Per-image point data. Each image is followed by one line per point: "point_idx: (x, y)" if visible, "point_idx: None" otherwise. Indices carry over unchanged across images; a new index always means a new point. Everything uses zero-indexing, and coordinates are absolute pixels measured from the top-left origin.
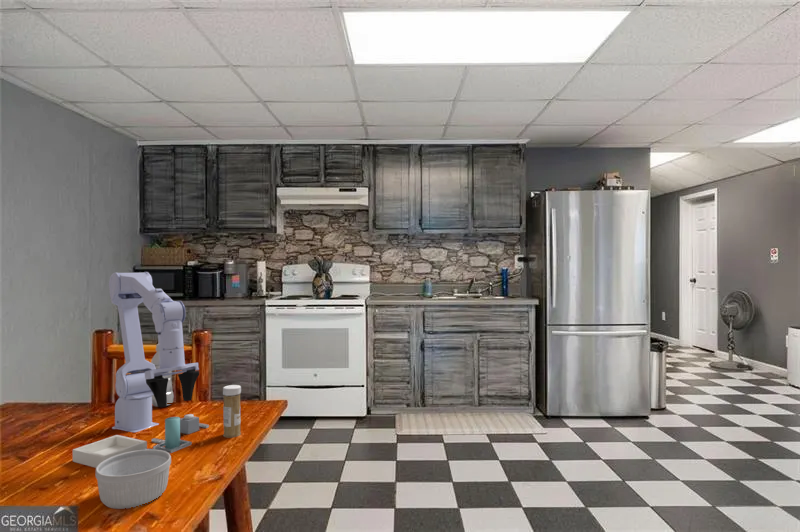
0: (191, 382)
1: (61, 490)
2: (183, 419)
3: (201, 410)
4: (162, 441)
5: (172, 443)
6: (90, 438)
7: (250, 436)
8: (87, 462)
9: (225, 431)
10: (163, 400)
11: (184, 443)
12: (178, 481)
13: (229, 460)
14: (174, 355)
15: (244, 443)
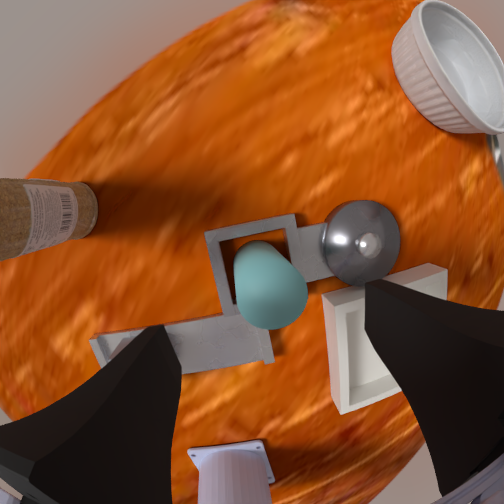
0: (99, 404)
1: (486, 224)
2: None
3: None
4: None
5: (272, 247)
6: (328, 459)
7: (49, 168)
8: None
9: (86, 208)
10: (410, 291)
11: (229, 238)
12: (358, 49)
13: (204, 43)
14: None
15: (91, 124)
